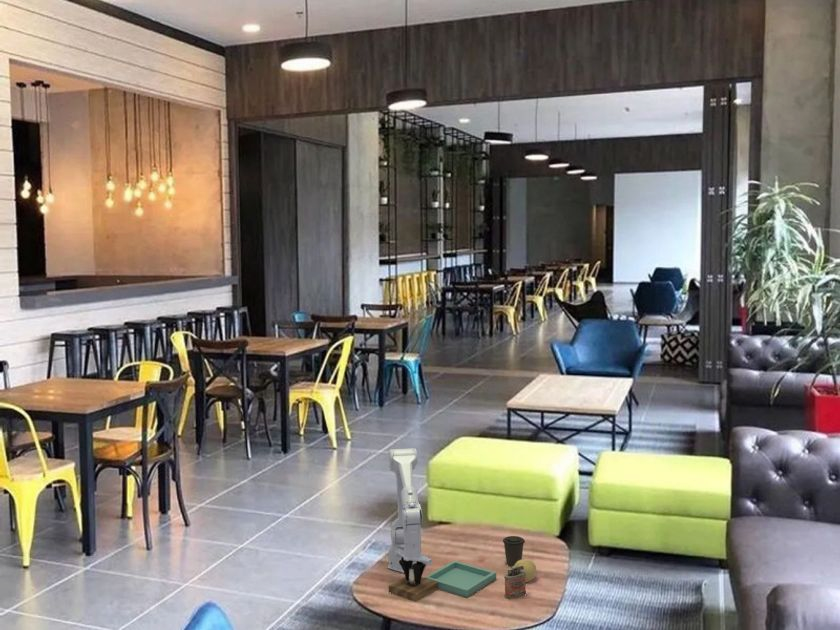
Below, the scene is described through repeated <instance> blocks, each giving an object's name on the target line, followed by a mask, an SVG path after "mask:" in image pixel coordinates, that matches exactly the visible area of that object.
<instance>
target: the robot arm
mask: <svg viewBox="0 0 840 630" xmlns="http://www.w3.org/2000/svg"><path fill="white" fill-rule="evenodd" d="M388 463H389V465H388V466H389V470H390V472H393V473H394V475H395V477H396V478H395V480H396V497H397V498H396V499H397V518H395V520H393V521H392V522H391V525H390V541H391V544H390V545H389V546H388V547H389V548H388V566H387V569H389V570H393V571H396V572H399V573H403V574H404V577H406V580H407V581H408V580H409V567H411V566H413V569H414V574H415V583H416V584H418V583H419V582H421V577H423V573H424V570H425V568H426V567H429V566H431V565H433V564H432V563H433V562H432V558H430V557H428V556H426V555H424V554H423V553H422V525H423V518H424V517H423V516H424V515H423V510H422V507H421V504H420V502H419V495H418V491H417V489H416V488H415V487H414V481H413V480H414V479H413V470H415V469H416V467H417V464H418V452H417V449H416V448H415V447H413V448H396V449H395V448H394V449H392V448H391V449H389V451H388Z"/></svg>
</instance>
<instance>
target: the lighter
mask: <svg viewBox="0 0 840 630" xmlns="http://www.w3.org/2000/svg"><path fill="white" fill-rule="evenodd" d="M523 569H524V566H523V565H519V566H517V567H515V566H512V567H510V568H507V573H506V574H504V575H503V578H504V599H506V600H513V599H517V597H518V598H521V597H524V596H526V595H527V590H526V587H527V586H526V584H527V583H526V582H525V575H526V572H525V571H521V570H523ZM525 594H526V595H525ZM523 595H524V596H523ZM520 596H521V597H520ZM512 598H513V599H512Z"/></svg>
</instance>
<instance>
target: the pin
mask: <svg viewBox="0 0 840 630" xmlns="http://www.w3.org/2000/svg"><path fill="white" fill-rule="evenodd" d="M417 585H418V584H416V583H415V574H414V569H413V566H411V567H409V586H413V587H415V586H417Z"/></svg>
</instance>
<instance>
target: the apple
mask: <svg viewBox="0 0 840 630" xmlns="http://www.w3.org/2000/svg"><path fill="white" fill-rule="evenodd" d="M519 565H523V566H524V569H523V570H521V571H525V572H526V575H525V583H528V582H531V581H533V580H534V579H535V577H536V574H537V565H536V564H535V562H533V560H531V559H528V558H522V560H519V561H517V562H516V563H515V565H514V566H515V567H517V566H519Z"/></svg>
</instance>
